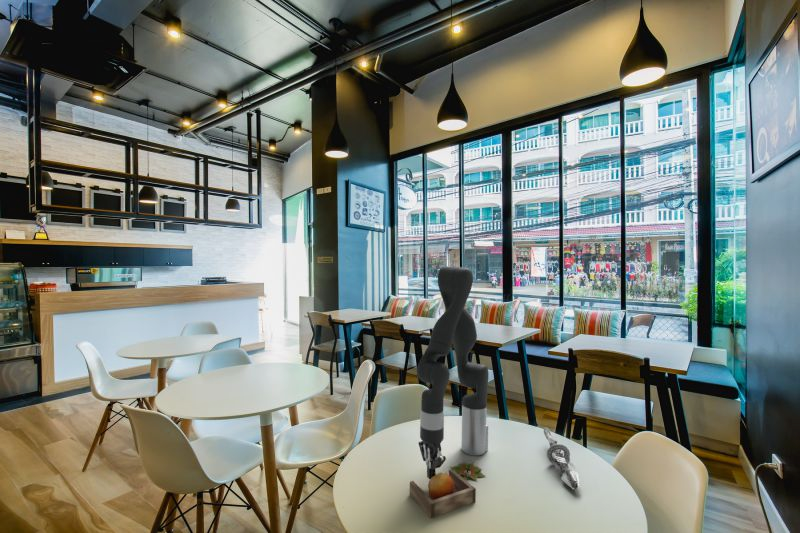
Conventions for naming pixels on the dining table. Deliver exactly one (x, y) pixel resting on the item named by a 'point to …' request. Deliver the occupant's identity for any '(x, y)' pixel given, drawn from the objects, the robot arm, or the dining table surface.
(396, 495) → the dining table surface
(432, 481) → the fruit
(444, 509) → the brown wooden u-shaped frame
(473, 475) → the lily flower
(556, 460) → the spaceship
